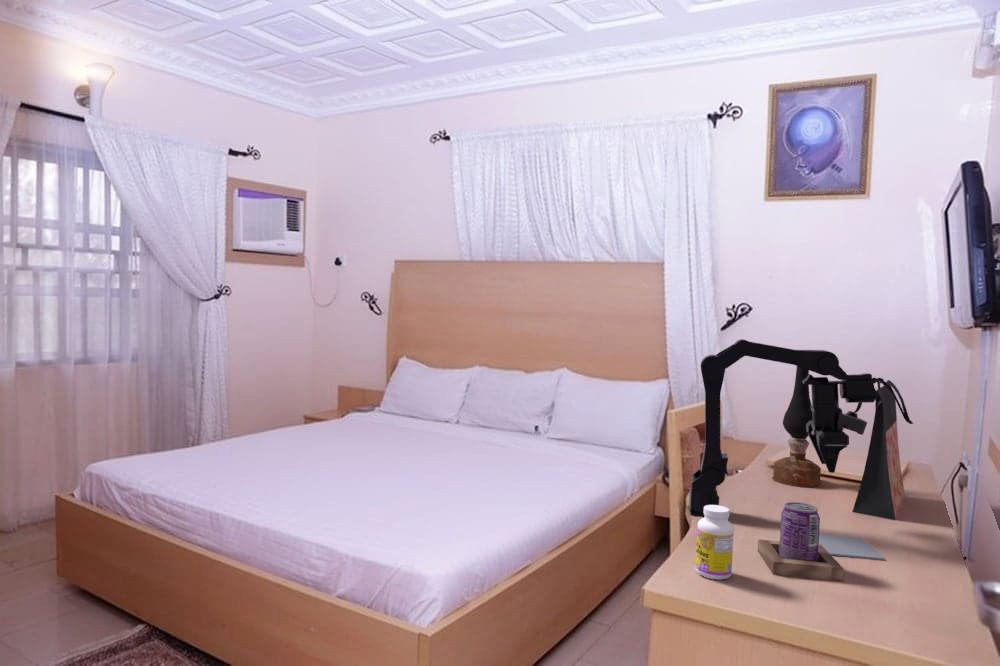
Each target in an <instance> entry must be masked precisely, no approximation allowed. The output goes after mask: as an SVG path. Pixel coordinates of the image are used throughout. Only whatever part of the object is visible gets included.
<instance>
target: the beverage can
mask: <svg viewBox="0 0 1000 666" xmlns="http://www.w3.org/2000/svg"><path fill="white" fill-rule="evenodd" d="M818 511H819V508H818V507H816V506H815V505H812V504H808V503H806V502H805V503H804V502H797V501H788V502H785V503H784V504H783V509H782V511H781V513H780V532H779V533H780V534H779V541H780V546H779V556H780V557H781V558H782V559H790V560H801V561H812V562H817V561H818V544H819V534H820V526H821V525H820V524H821V518H820V515H819V513H818Z"/></svg>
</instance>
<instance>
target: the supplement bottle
mask: <svg viewBox="0 0 1000 666" xmlns="http://www.w3.org/2000/svg"><path fill="white" fill-rule="evenodd" d="M703 513H704V515H705V516H704V517H702V518H700V520H698V522H697V529H696V530H697V531H696V532H697V533H696V547H695V548H696V549H695V565H694V566H695V572H697V574H698V575H699V576H701V575H702V576H701V577H703V576H704V577H703V578H705V577H707V578H706V579H709V578H710V580H714V579H717V580H716V581H720V580H722V581H723V579H724V580H727V579H729V578H730V577H731V576H732V570H733V568H732V566H733V551H734V550H733V549H734V534H735V527H734V526H733V525H734V524H732V522H730V521H729V520H728V519H729V517H730V509H729V508H728V507H727V506H724V505H720V504H719V505H706V506H704V512H703Z"/></svg>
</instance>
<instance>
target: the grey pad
mask: <svg viewBox="0 0 1000 666" xmlns="http://www.w3.org/2000/svg"><path fill="white" fill-rule="evenodd" d="M818 545H822V546H823V547H824V548H825V550H826V551H827V552H828V553H829V554H830V555H831V556H832V557H844V558H845V557H846V558H853V559H867V560H878V561H886V557H884V556H883V555H882V554H881V553H880V552H879V551H878V550H876V549H875V548H874V547H873V546H871V545H870V543H868V542H867V541H866V540H865V539H863V537H859V536H850V535H838V534H828V533H827V534H824V533H819V544H818Z"/></svg>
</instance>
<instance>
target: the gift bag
mask: <svg viewBox="0 0 1000 666" xmlns="http://www.w3.org/2000/svg"><path fill="white" fill-rule="evenodd" d="M872 380H873V383H874V384H876V383H877V389H875V390H876V396H875V401H874V402H875V405H874V406H875V411H874V419H873V424H872V430H871V435H870V441H869V446H868V451H867V457H866V461H865V465H864V470H863V473H862V477H861V481H860V485H859V488H858V491H857V496H856V498H855V502H854V506H853V508H852V509H853V510H852V513H855V514H861V515H862V514H863V515H866V516H873V517H876V516H877V517H876V518H881V517H882V518H881V519H888V520H891V521H892V520H893V521H896V520H897V518H898V516H899V514H900V512H901V510H902V507H903V505H904V502H905V500H906V499H907V498H906V493H905V486H904V481H903V480H904V479H903V474H902V473H903V472H902V467H901V461H900V450H899V449H900V448H899V447H900V446H899V435H898V421H897V420H898V419H897V407H898V408H899V409H898V410H899V411H900V413H901V416H902V417H903V419H904V420H905V422H907V423H908V424H909V425H914V422H913V421H911V419H910V417H909V414H908V409H907V407H906V404H905V401H904V398H903V396H902V394H901V393H900V390H899V389H898V388H897V386H896V385H895V384H894V382H892V381H891V380H890V379H888V380H886V381H885V379H884V378H882V377H878V378H877V377H872ZM881 384H882V385H883V386H881ZM896 394H897V395H896ZM897 396H898V398H897ZM898 399H899V400H900V401H899V400H898ZM900 403H901V404H900ZM862 405H863V403H857V406H856V409H855V410H854V411H853V412H855V413H857V414H858V412H859V411H860V410H861V407H862ZM905 498H906V499H905ZM900 509H901V510H900Z"/></svg>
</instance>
